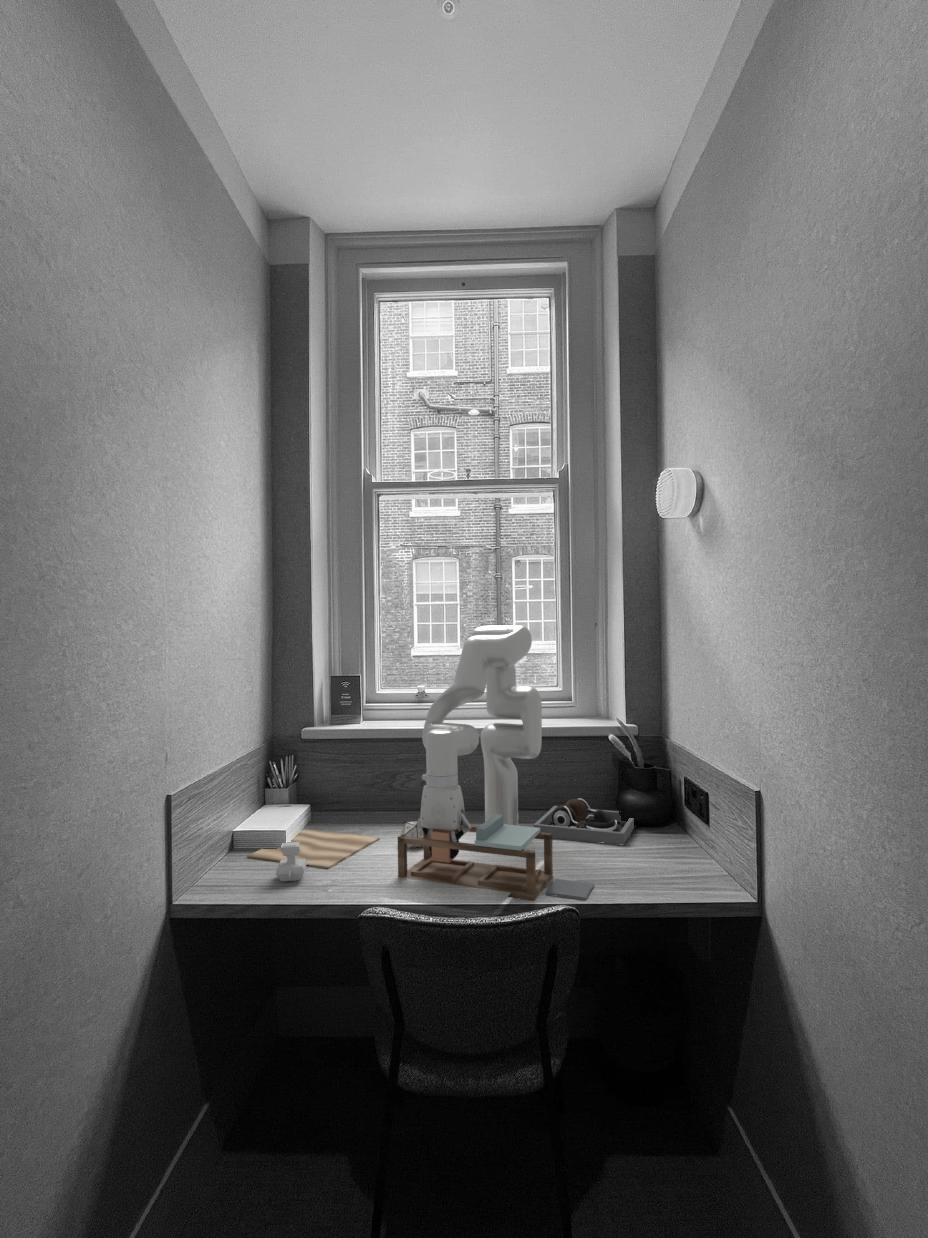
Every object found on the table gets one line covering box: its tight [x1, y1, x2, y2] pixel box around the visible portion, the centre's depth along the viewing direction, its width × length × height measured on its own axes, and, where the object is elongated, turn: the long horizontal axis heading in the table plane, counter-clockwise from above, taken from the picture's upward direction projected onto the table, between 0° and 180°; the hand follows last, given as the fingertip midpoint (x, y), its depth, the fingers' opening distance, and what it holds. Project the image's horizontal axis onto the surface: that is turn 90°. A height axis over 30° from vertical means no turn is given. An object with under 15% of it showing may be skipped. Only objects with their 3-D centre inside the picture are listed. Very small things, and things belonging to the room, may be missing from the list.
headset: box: [552, 798, 626, 831], centre depth 211 cm, size 17×8×20 cm
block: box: [431, 829, 455, 863], centre depth 175 cm, size 4×4×7 cm
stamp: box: [275, 842, 307, 882], centre depth 173 cm, size 9×7×8 cm
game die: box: [397, 819, 424, 849], centre depth 194 cm, size 9×8×10 cm
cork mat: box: [246, 828, 381, 869], centre depth 196 cm, size 26×25×1 cm
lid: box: [474, 814, 540, 851], centre depth 168 cm, size 15×11×4 cm
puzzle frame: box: [397, 824, 554, 902], centre depth 171 cm, size 16×33×10 cm, turn 68°
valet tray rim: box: [533, 805, 635, 846], centre depth 210 cm, size 22×25×3 cm
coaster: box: [544, 878, 595, 901], centre depth 163 cm, size 9×9×1 cm
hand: (444, 854), depth 175 cm, fingers closed on block, 4 cm apart
